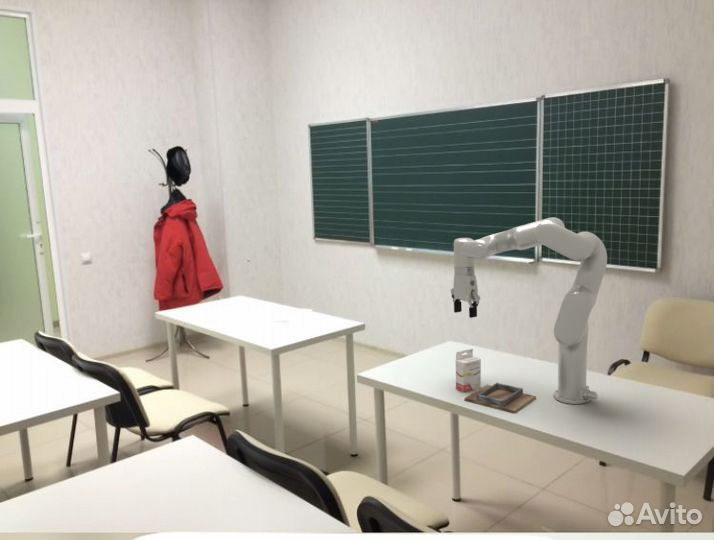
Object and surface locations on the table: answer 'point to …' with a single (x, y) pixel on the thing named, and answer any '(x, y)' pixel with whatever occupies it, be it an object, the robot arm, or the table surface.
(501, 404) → the dock
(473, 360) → the ink cartridge box
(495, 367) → the table surface
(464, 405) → the table surface
